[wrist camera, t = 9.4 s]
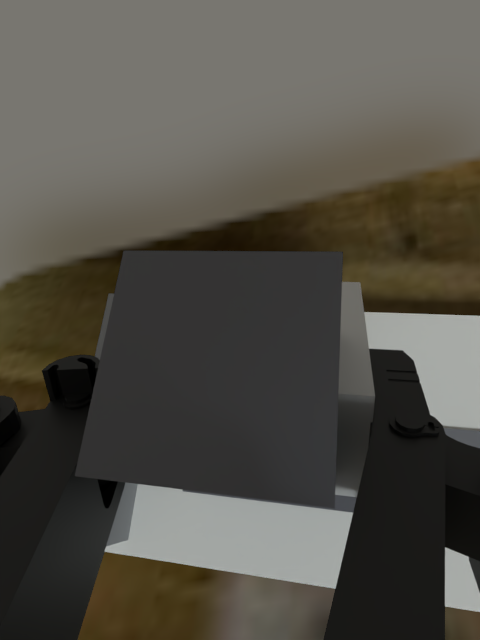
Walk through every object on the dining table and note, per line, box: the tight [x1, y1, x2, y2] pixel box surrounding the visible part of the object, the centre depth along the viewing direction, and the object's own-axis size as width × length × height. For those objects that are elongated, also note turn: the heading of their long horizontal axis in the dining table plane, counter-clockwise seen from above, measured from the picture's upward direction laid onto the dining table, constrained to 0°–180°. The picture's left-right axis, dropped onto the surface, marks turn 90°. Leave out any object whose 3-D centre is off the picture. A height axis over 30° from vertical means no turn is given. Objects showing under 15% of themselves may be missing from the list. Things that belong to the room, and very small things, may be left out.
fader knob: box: [75, 251, 357, 513], centre depth 12 cm, size 6×5×10 cm
